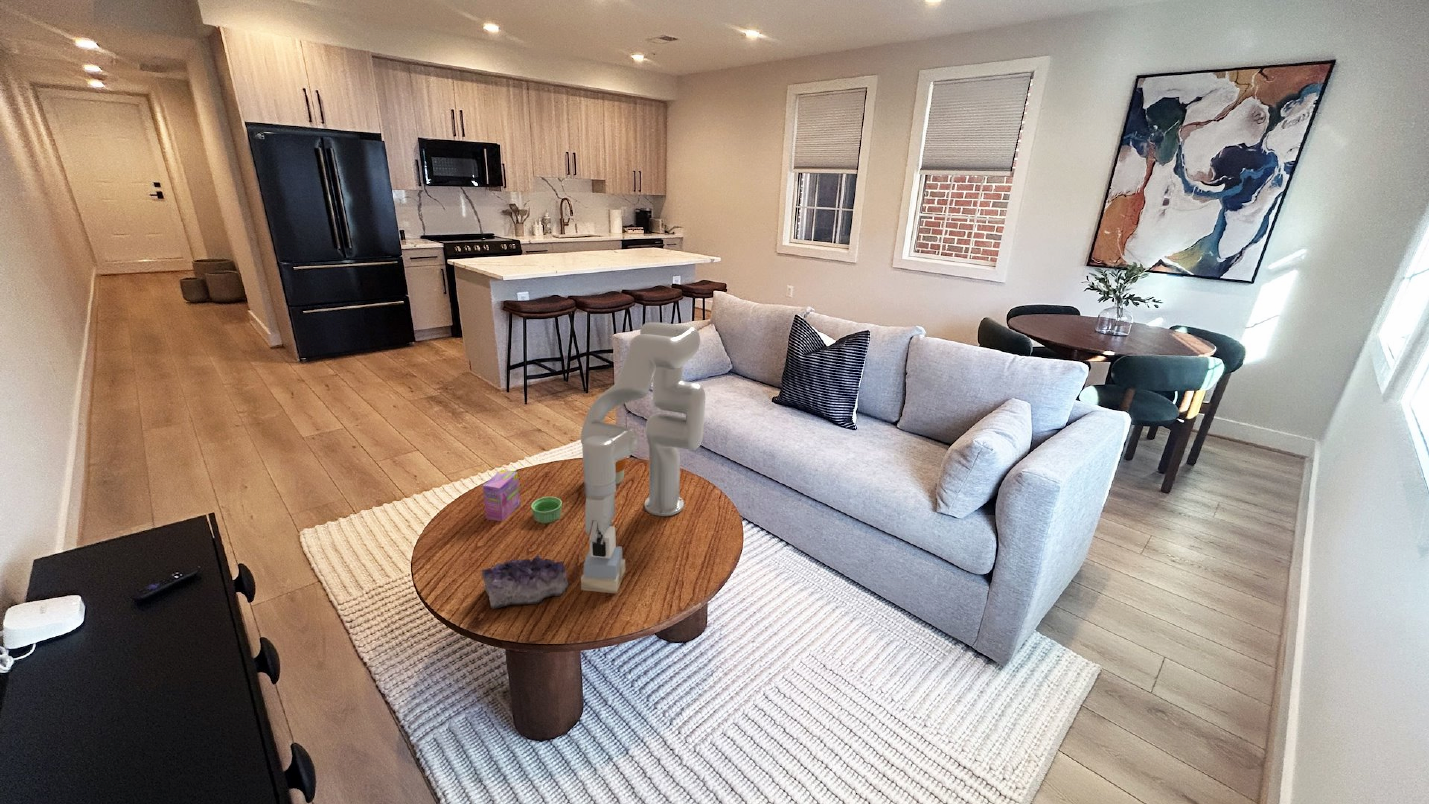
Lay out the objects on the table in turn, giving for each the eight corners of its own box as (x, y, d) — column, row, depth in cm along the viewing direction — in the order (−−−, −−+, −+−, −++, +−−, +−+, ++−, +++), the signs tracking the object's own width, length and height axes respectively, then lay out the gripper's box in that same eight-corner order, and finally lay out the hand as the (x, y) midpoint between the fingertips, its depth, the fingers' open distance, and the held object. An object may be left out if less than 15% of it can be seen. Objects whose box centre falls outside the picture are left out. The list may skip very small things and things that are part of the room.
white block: (596, 544, 142) (595, 524, 140) (615, 546, 142) (615, 526, 140) (590, 556, 138) (589, 536, 136) (610, 558, 137) (609, 538, 135)
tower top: (592, 557, 146) (591, 545, 144) (622, 559, 145) (621, 546, 144) (584, 577, 138) (583, 564, 137) (616, 579, 138) (615, 566, 137)
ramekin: (561, 506, 175) (560, 494, 173) (563, 522, 167) (562, 509, 165) (531, 510, 172) (530, 498, 171) (532, 526, 164) (531, 513, 163)
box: (503, 522, 166) (499, 487, 162) (486, 519, 167) (481, 485, 162) (521, 504, 175) (518, 471, 171) (504, 502, 176) (501, 469, 172)
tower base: (592, 568, 148) (591, 556, 146) (625, 571, 147) (625, 559, 146) (581, 591, 139) (580, 578, 138) (616, 594, 139) (616, 581, 137)
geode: (567, 570, 146) (566, 541, 142) (569, 604, 137) (569, 575, 132) (484, 580, 140) (481, 550, 136) (480, 616, 131) (477, 586, 126)
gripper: (596, 467, 141) (599, 528, 148) (572, 502, 126) (576, 568, 132) (625, 470, 141) (626, 531, 147) (604, 505, 125) (607, 571, 131)
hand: (602, 548), depth 139 cm, fingers closed on white block, 5 cm apart
